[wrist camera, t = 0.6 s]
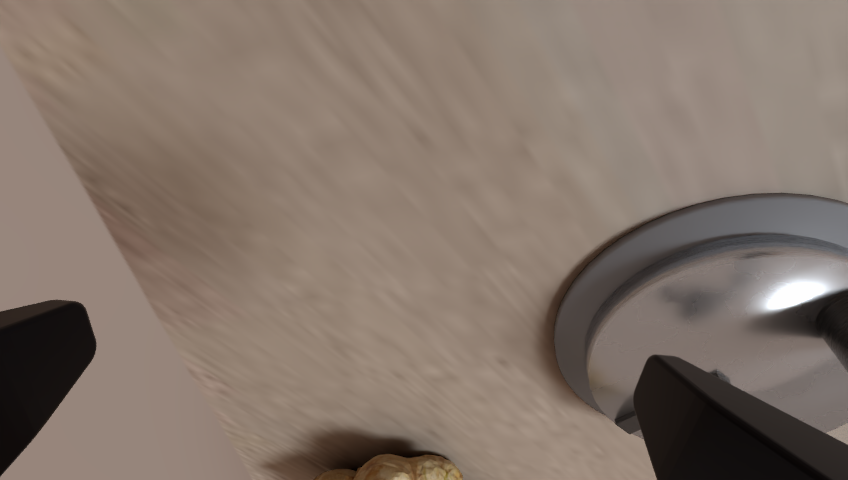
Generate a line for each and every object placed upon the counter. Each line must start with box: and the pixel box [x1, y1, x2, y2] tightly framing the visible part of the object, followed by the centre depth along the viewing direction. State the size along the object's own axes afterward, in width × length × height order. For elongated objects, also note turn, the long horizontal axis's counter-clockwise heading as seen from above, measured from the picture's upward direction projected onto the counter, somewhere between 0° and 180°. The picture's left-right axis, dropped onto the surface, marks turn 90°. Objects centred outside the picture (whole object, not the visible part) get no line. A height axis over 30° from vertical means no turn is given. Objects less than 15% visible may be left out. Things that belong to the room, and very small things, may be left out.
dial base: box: [554, 193, 848, 415], centre depth 24 cm, size 17×18×2 cm
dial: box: [584, 234, 848, 439], centre depth 20 cm, size 14×14×11 cm
